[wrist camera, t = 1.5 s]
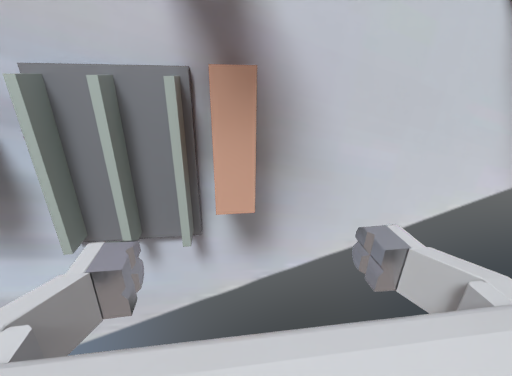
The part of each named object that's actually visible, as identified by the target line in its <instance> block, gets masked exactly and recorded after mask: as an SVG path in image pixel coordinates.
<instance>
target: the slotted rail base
mask: <svg viewBox="0 0 512 376" xmlns="http://www.w3.org/2000/svg"><path fill="white" fill-rule="evenodd" d="M17 64H18V67H19V70H20V74H3V76H4V79H5V82H6V85H7V88H8V91H9V94H10V97H11V100H12V103H13V106H14V109H15V112H16V115H17V118H18V121H19V124H20V127H21V130H22V133H23V135H24V138H25V141H26V144H27V147H28V150H29V153H30V156H31V159H32V162H33V165H34V168H35V171H36V174H37V177H38V180H39V183H40V186H41V189H42V192H43V194H44V197H45V200H46V203H47V206H48V209H49V212H50V215H51V218H52V221H53V224H54V227H55V230H56V233H57V236H58V239H59V242H60V245H61V248H62V251H63V253H64V255H66V254H73V253H74V252H75V251H76V249H77V248H78V247H79V246H80V244H81V243H82V242H92V241H109V240H123V241H134V240H137V241H138V240H139V239H141V238H158V237H174V236H182V241H183V247H186V246H191V244H192V237H193V235H201V234H202V226H201V213H200V201H199V188H198V175H197V163H196V150H195V137H194V125H193V112H192V99H191V87H190V74H189V66H159V65H107V64H55V63H17Z"/></svg>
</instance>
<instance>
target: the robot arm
mask: <svg viewBox="0 0 512 376" xmlns="http://www.w3.org/2000/svg"><path fill="white" fill-rule="evenodd" d="M355 237H356V239H357V240H358V242H357V243H356V244H355V245H354V246H353V251H352V256H353V261H354V264H355V266H356V267H357V269H358V270H359V271H361V272H363V273H364V274H365V280H366V281H367V282H368V284H369V285H370V286H371V288H372V289H373V290H374V292H377V291H391V290H396V291H397V292H398V293H400V294H401V295H403V296H404V297H406V298H407V299H409V300H410V301H412V302H413V303H415V304H416V305H418V306H419V307H421V308H422V309H424V310H425V311H427V312H428V313H430V314H425V315H417V316H408V317H400V318H391V319H381V320H373V321H364V322H355V323H347V324H337V325H329V326H320V327H312V328H303V329H296V330H286V331H278V332H269V333H260V334H252V335H244V336H236V337H227V338H218V339H210V340H200V341H192V342H184V343H174V344H166V345H157V346H149V347H141V348H132V349H123V350H114V351H106V352H97V353H88V354H79V355H71V356H67V355H68V354H70V353H71V351H73V349H75V348H76V347H77V346H78V345H79V344H80V343H81V342H82V341H83V340H84V339H85V338H86V337H87V336H88V335H89V334H90V333H91V332H92V331H93V330H94V329H95V328H96V327H97V326H98V325H99V324H100V323H101V322H102V321H103V319H109V318H117V317H125V316H132V313H133V310H134V307H135V305H136V302H137V294H136V292H138V291H139V290H140V289H141V287H142V284H143V278H144V266H143V261H142V260H141V259H140V258H139V254H140V252H141V249H140V244H139V242H138V241H137V240H134V241H109V242H91V243H89V244H87V245H86V247H85V248H84V249H83V251H82V252H81V253H80V255H79V256H78V257H77V259H76V260H75V261H74V263H73V264H72V265H71V267H70V268H69V269H68V271H67V272H66V273H65V274H64V275H58V276H56V277H55V278H53V279H51V280H49V281H48V282H46V283H44V284H42V285H41V286H39V287H37V288H35V289H33V290H32V291H30V292H28V293H26V294H25V295H23V296H21V297H19V298H18V299H16V300H14V301H12V302H10V303H9V304H7V305H5V306H3V307H2V308H0V376H512V279H511V278H509V277H507V276H504V275H502V274H499V273H496V272H494V271H491V270H488V269H486V268H483V267H480V266H478V265H475V264H473V263H470V262H468V261H465V260H462V259H460V258H457V257H454V256H452V255H449V254H446V253H444V252H441V251H438V250H436V249H433V248H431V247H425V246H424V245H422V244H421V243H420V242H419V241H418V240H416V239H415V238H414V237H412V236H411V235H410V234H409V233H408V232H406V231H405V230H404V229H403V228H401V227H400V226H399V225H396V224H392V225H383V226H371V227H359V228H358V230H357V231H356V236H355Z"/></svg>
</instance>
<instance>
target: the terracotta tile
mask: <svg viewBox="0 0 512 376" xmlns="http://www.w3.org/2000/svg"><path fill="white" fill-rule="evenodd" d="M209 84H210V103H211V122H212V142H213V161H214V180H215V200H216V215H219V214H239V213H255V171H256V104H257V65H226V64H209Z"/></svg>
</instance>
